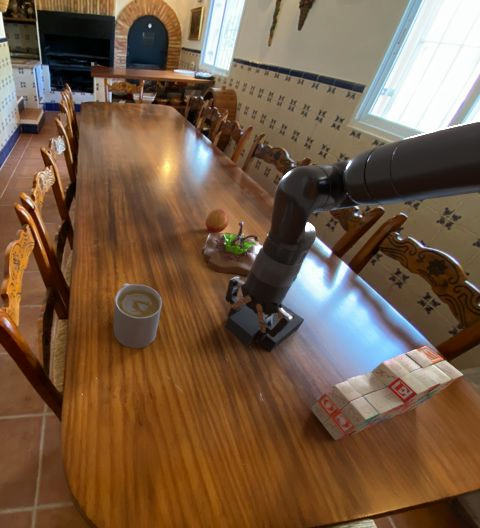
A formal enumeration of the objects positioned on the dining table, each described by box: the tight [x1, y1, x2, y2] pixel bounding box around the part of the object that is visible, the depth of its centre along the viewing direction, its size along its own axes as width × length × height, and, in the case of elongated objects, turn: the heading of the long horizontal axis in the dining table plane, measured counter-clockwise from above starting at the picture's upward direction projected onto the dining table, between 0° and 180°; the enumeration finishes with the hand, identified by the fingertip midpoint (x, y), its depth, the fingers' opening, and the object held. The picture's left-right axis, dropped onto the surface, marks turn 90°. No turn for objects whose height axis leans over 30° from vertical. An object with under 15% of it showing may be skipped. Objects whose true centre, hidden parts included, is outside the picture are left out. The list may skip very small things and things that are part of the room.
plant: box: [200, 221, 263, 277], centre depth 90 cm, size 20×20×11 cm
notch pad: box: [227, 303, 305, 353], centre depth 72 cm, size 12×12×4 cm
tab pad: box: [224, 306, 260, 347], centre depth 65 cm, size 6×8×4 cm
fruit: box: [205, 208, 230, 233], centre depth 102 cm, size 8×8×8 cm
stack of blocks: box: [310, 345, 464, 442], centre depth 54 cm, size 21×6×12 cm, turn 109°
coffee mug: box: [112, 283, 163, 349], centre depth 67 cm, size 13×10×10 cm
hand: (244, 328), depth 65 cm, fingers closed on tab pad, 6 cm apart
